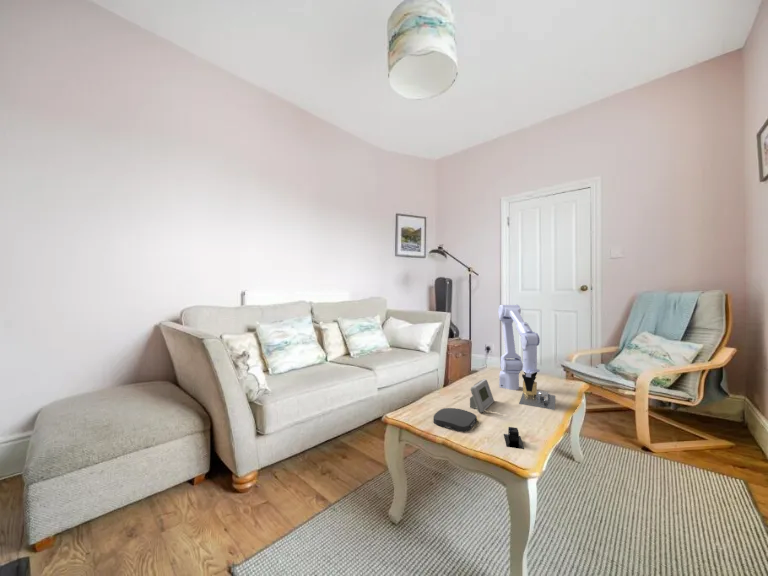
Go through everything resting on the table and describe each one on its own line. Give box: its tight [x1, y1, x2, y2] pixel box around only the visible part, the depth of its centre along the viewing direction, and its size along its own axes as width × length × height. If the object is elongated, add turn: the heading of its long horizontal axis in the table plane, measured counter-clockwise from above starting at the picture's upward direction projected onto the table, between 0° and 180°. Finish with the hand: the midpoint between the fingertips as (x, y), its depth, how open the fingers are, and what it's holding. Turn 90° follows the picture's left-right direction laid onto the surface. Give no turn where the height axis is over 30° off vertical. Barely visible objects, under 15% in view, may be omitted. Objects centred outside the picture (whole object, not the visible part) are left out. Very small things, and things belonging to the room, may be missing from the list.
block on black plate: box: [503, 426, 525, 450], centre depth 105 cm, size 12×7×5 cm, turn 164°
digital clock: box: [469, 378, 495, 414], centre depth 136 cm, size 16×9×11 cm, turn 131°
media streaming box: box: [433, 407, 478, 433], centre depth 120 cm, size 15×15×3 cm
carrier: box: [518, 390, 556, 411], centre depth 142 cm, size 14×20×4 cm
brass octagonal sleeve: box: [522, 379, 538, 395], centre depth 140 cm, size 6×6×5 cm
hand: (529, 388), depth 140 cm, fingers closed on brass octagonal sleeve, 6 cm apart
